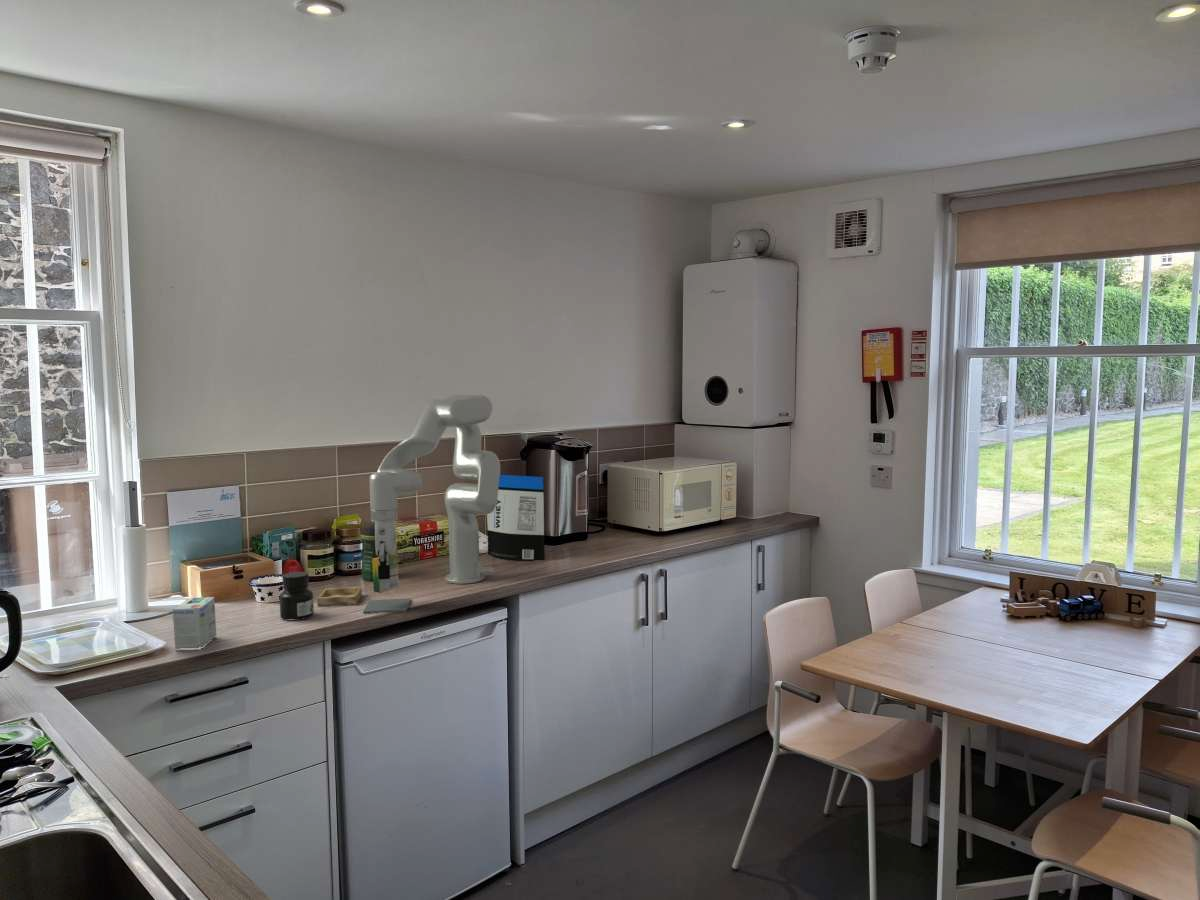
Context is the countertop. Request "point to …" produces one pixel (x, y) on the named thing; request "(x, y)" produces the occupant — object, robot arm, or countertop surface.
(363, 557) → the coffee jar
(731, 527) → the countertop surface
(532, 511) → the protein powder
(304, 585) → the ink bottle
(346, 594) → the tray
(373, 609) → the mat
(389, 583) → the crayon box
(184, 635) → the light bulb box
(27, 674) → the countertop surface
